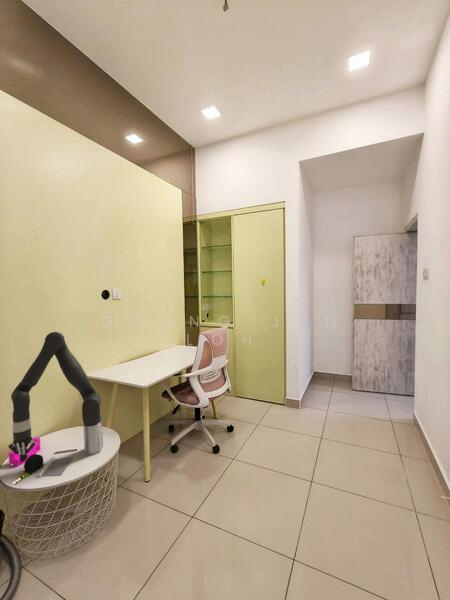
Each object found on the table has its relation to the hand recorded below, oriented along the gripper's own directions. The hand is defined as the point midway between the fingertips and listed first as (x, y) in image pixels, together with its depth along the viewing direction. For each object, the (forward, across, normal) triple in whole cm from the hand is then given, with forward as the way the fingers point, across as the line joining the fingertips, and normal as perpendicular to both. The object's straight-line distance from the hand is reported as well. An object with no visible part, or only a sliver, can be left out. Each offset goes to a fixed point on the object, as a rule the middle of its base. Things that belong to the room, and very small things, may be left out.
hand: (23, 460), depth 138 cm
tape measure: (+6, -4, +4) cm, 8 cm away
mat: (+6, -16, 0) cm, 17 cm away
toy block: (+6, +4, -11) cm, 13 cm away
